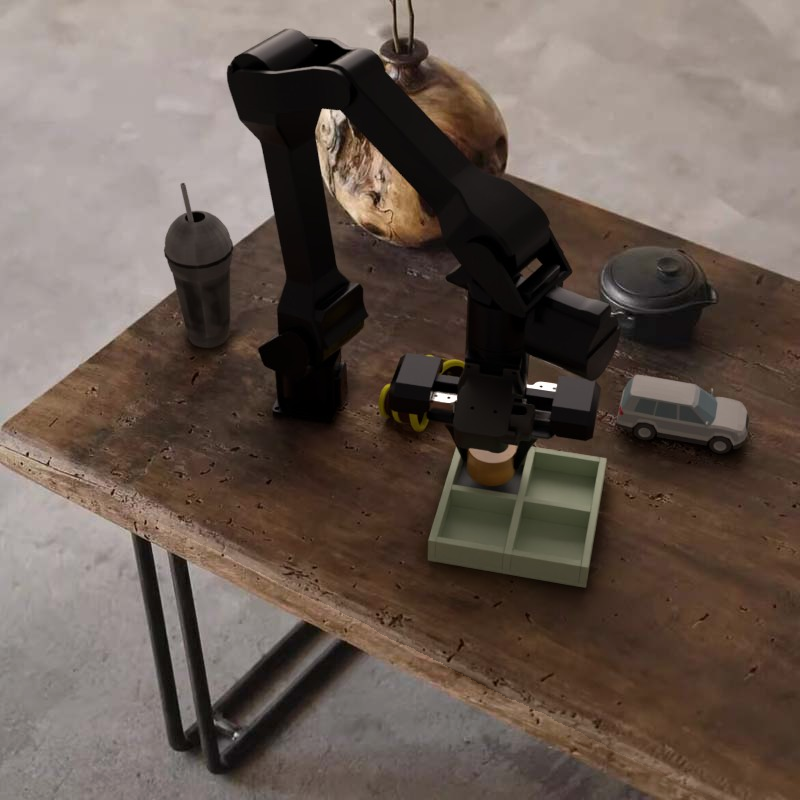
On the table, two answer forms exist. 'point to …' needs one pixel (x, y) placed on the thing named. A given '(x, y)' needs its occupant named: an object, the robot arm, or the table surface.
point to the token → (491, 466)
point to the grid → (523, 518)
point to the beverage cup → (201, 273)
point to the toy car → (682, 413)
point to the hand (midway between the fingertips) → (490, 462)
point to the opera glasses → (416, 421)
